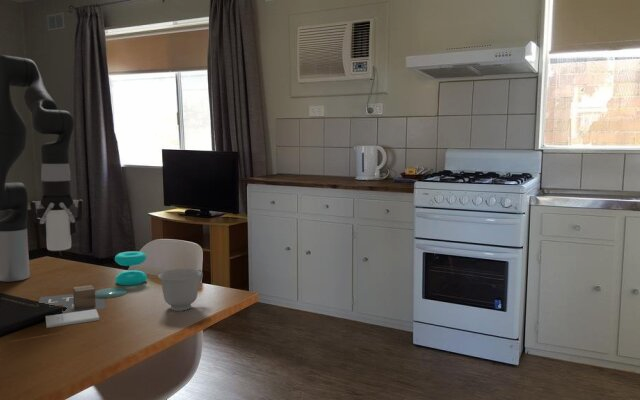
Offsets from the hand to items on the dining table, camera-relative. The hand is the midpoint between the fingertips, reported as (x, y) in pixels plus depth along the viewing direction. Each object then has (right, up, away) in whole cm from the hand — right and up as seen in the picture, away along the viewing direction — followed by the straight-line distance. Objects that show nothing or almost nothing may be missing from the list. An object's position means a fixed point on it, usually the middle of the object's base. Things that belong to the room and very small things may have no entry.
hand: (58, 235), depth 152 cm
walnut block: (+9, -20, -3) cm, 22 cm away
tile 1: (-1, -20, +2) cm, 20 cm away
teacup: (+38, -21, -3) cm, 43 cm away
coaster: (+11, -19, +9) cm, 24 cm away
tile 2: (+9, -20, -3) cm, 22 cm away
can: (0, -4, 0) cm, 4 cm away
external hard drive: (+11, -22, -15) cm, 29 cm away
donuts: (+13, -18, +23) cm, 32 cm away
